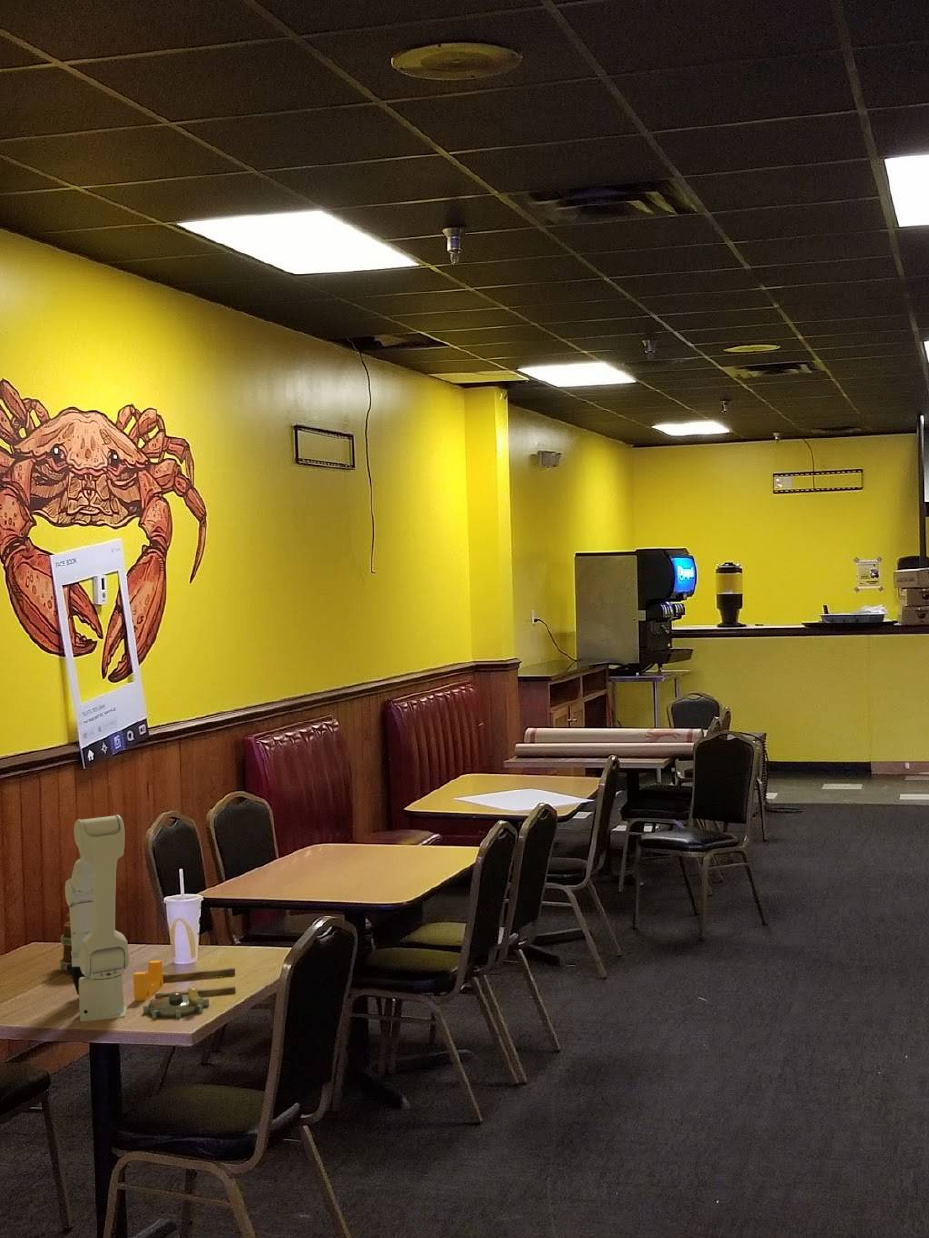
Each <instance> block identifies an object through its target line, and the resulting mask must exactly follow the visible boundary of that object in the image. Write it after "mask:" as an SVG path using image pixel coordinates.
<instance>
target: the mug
mask: <svg viewBox="0 0 929 1238" xmlns="http://www.w3.org/2000/svg"><path fill="white" fill-rule="evenodd" d="M64 917H65V920H66V921H65V923H64V924H63V934H62V935H60V944H61V945H63V951H62V952H63V953H62V954H63V955H62V958H61V959H60V961H59V963H60V964H59V966H60V969H61V970H62V973H63V974H65V975H68V976H71V975H70V973H69V972H68V971H67V965H68V964H72V955H71V951H72V943H71V927H70V912H68V913H65V915H64Z"/></svg>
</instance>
